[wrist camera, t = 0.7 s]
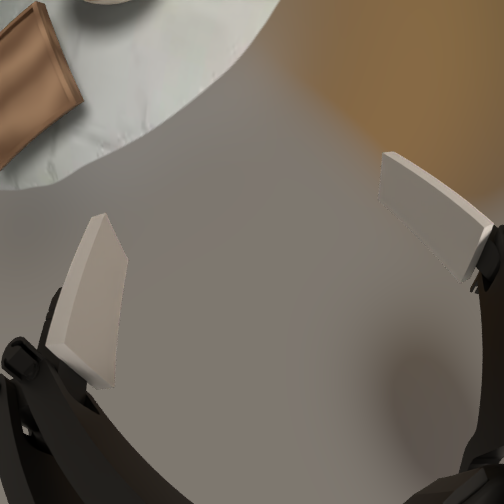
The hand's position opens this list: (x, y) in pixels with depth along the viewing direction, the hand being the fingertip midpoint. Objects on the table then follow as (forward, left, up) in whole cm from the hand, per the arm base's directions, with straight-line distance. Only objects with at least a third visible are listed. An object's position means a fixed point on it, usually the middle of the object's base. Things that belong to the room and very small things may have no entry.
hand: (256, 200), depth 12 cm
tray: (-17, -20, -26) cm, 37 cm away
